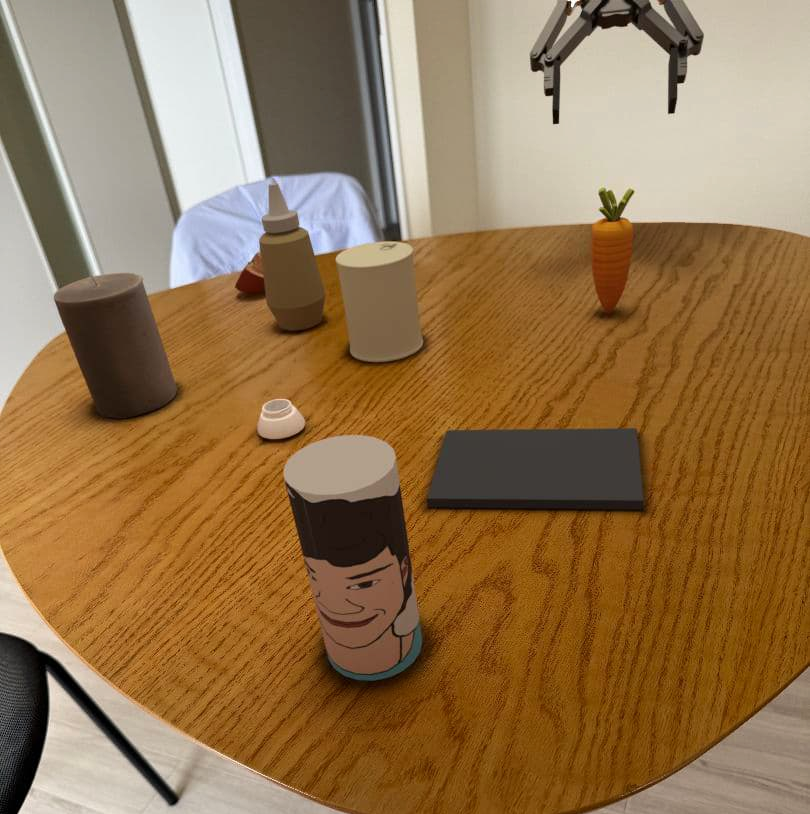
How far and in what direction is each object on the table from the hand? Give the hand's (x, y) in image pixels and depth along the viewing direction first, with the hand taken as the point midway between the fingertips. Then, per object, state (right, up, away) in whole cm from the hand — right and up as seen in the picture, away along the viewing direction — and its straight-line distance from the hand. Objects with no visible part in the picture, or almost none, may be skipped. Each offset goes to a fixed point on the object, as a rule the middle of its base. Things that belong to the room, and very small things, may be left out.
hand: (613, 112), depth 94 cm
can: (-27, -28, +4) cm, 39 cm away
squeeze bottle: (-39, -22, +14) cm, 47 cm away
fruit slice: (-48, -13, +27) cm, 56 cm away
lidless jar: (-38, -40, -11) cm, 56 cm away
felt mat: (-13, -45, -23) cm, 53 cm away
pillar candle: (-57, -35, 0) cm, 67 cm away
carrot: (0, -23, +4) cm, 24 cm away
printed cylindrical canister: (-27, -59, -39) cm, 76 cm away
